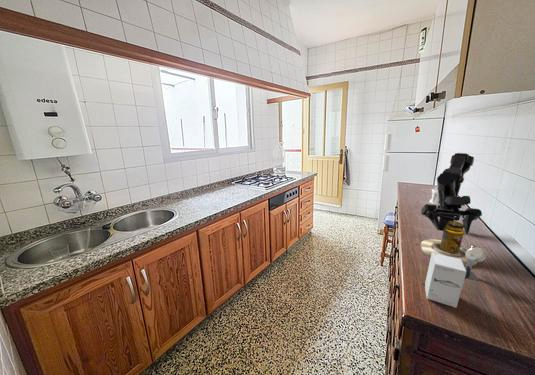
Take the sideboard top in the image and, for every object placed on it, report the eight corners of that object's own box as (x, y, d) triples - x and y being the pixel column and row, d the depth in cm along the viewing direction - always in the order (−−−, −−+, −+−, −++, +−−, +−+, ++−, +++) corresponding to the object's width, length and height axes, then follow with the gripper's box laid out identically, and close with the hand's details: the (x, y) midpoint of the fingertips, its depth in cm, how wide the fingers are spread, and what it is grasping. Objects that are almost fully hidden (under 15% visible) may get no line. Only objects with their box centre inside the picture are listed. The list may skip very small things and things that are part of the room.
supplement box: (426, 299, 66) (433, 263, 63) (424, 285, 73) (431, 251, 69) (457, 309, 63) (467, 271, 59) (452, 293, 69) (461, 258, 66)
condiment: (461, 256, 84) (468, 228, 81) (434, 250, 88) (440, 223, 85) (457, 248, 90) (464, 221, 87) (432, 243, 94) (437, 217, 91)
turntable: (415, 239, 100) (416, 236, 100) (463, 246, 94) (464, 243, 94) (428, 261, 84) (428, 257, 83) (487, 271, 78) (488, 267, 77)
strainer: (434, 213, 134) (439, 190, 130) (425, 209, 140) (429, 187, 136) (444, 212, 134) (449, 189, 130) (434, 208, 141) (439, 186, 137)
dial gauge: (450, 266, 82) (457, 236, 79) (466, 269, 81) (475, 238, 77) (460, 279, 75) (468, 247, 72) (478, 283, 73) (488, 250, 70)
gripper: (428, 185, 90) (432, 220, 83) (485, 189, 83) (495, 227, 76) (419, 198, 99) (422, 230, 92) (470, 202, 92) (478, 237, 85)
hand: (452, 231), depth 86 cm, fingers open, 9 cm apart
